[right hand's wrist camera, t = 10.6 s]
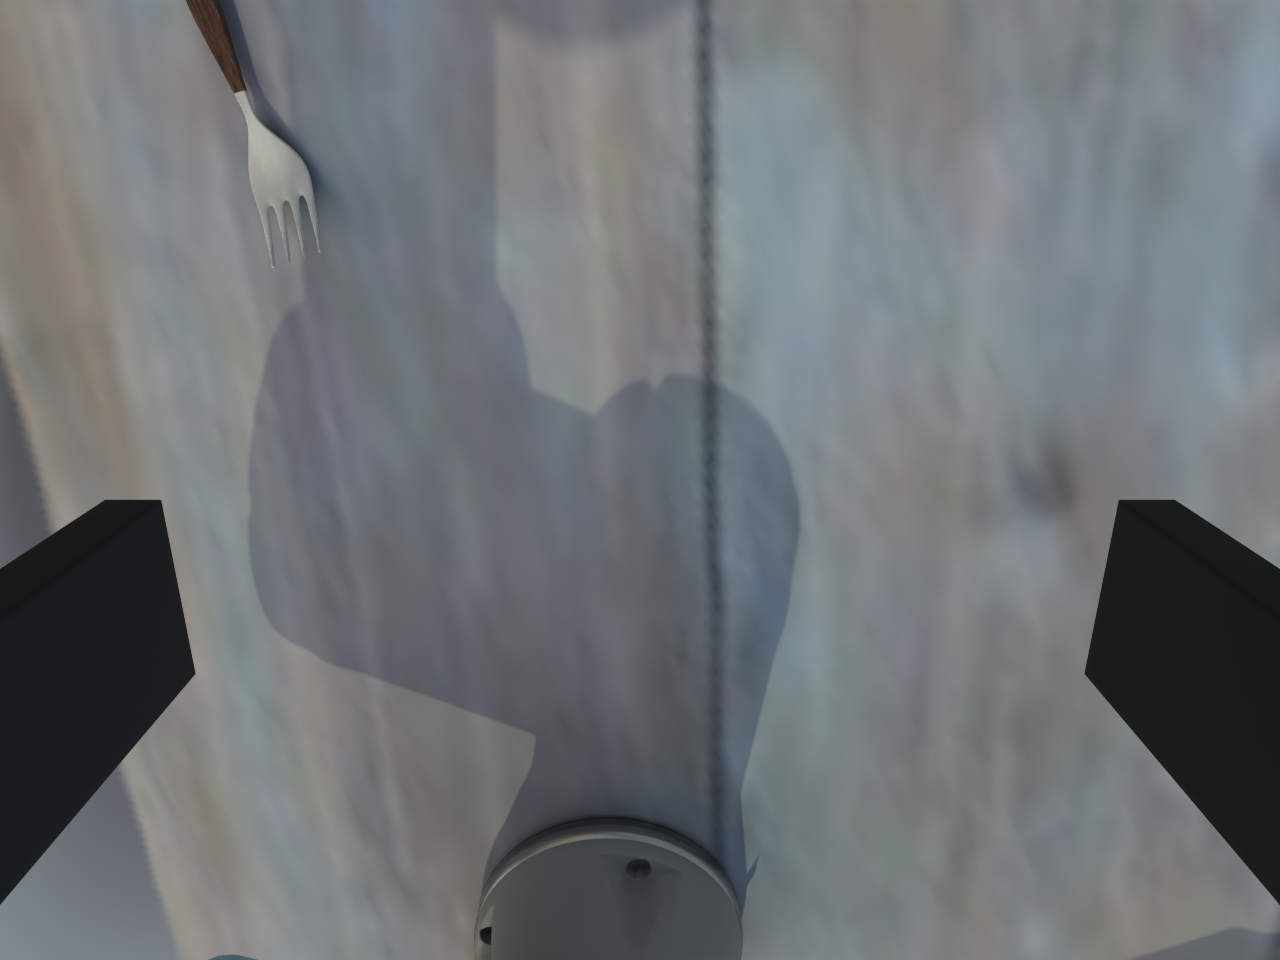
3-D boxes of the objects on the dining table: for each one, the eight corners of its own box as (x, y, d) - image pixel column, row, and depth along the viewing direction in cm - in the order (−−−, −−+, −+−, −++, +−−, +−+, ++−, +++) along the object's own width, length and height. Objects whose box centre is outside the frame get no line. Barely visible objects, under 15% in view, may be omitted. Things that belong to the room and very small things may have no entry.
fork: (172, -169, 34) (145, -187, 32) (340, 246, 39) (325, 251, 37) (110, -146, 34) (79, -163, 32) (285, 264, 40) (268, 270, 38)
